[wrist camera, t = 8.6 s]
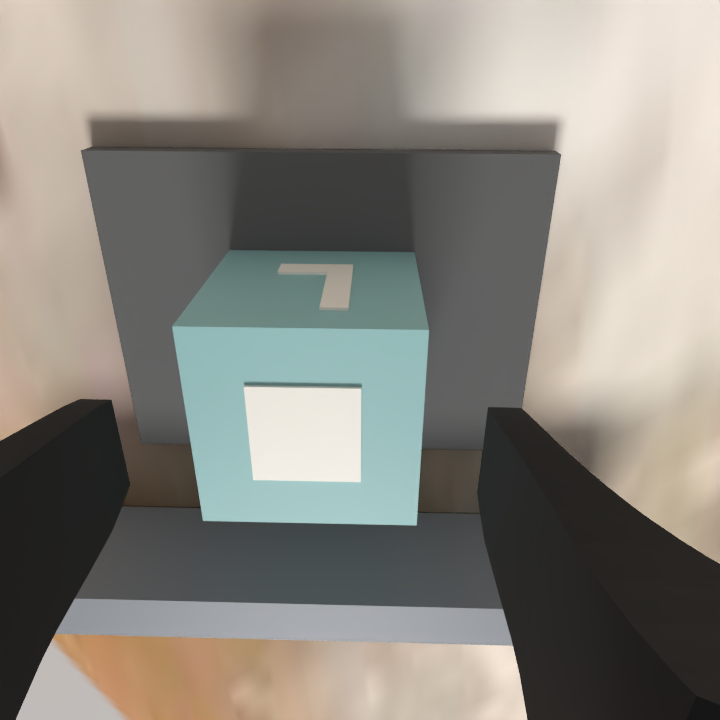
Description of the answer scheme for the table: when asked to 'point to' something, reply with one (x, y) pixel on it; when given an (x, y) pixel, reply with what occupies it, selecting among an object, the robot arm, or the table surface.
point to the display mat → (332, 233)
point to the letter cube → (306, 387)
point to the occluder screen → (291, 581)
